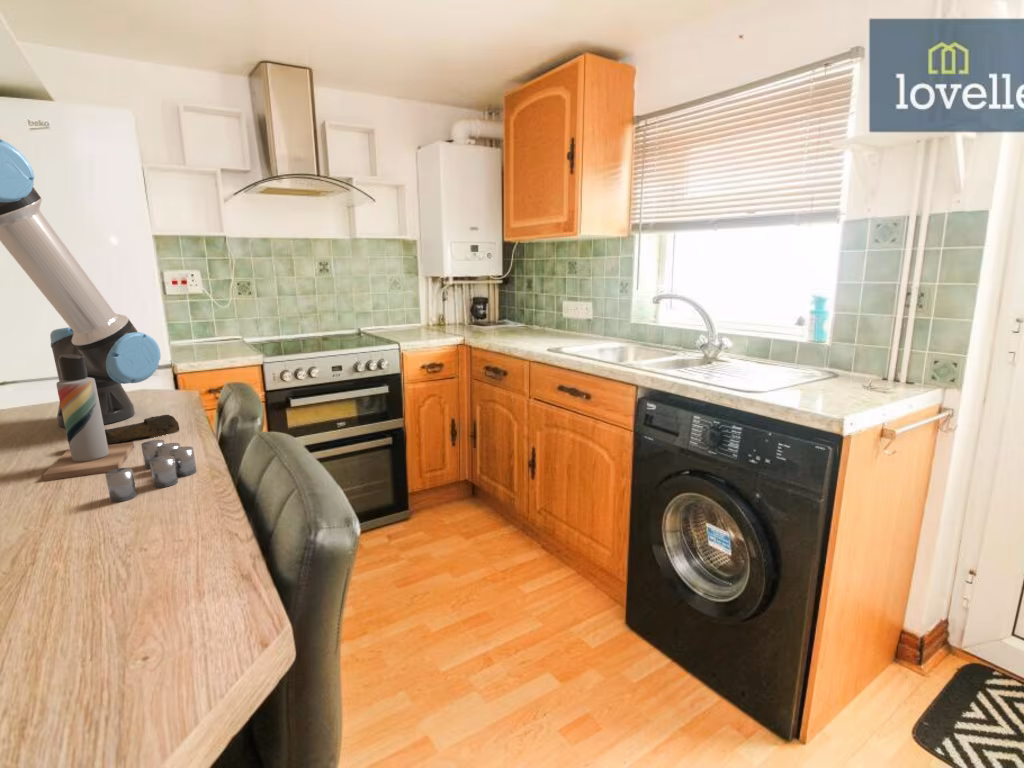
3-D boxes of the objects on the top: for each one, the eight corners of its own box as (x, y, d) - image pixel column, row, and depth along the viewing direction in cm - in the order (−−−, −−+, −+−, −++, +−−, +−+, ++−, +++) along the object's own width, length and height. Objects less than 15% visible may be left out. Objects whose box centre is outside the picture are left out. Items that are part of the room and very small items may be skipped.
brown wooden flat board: (68, 455, 109) (67, 450, 108) (134, 447, 113) (133, 441, 113) (44, 481, 96) (42, 474, 96) (118, 470, 101) (117, 464, 100)
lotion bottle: (85, 452, 107) (64, 352, 102) (115, 451, 107) (96, 351, 103) (64, 463, 101) (42, 357, 97) (97, 461, 102) (76, 356, 97)
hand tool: (74, 455, 110) (69, 433, 109) (73, 450, 113) (69, 428, 112) (181, 435, 121) (178, 415, 120) (178, 431, 124) (175, 412, 123)
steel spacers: (131, 465, 103) (127, 443, 102) (201, 456, 107) (197, 434, 106) (107, 503, 87) (102, 477, 86) (190, 490, 91) (186, 465, 90)
